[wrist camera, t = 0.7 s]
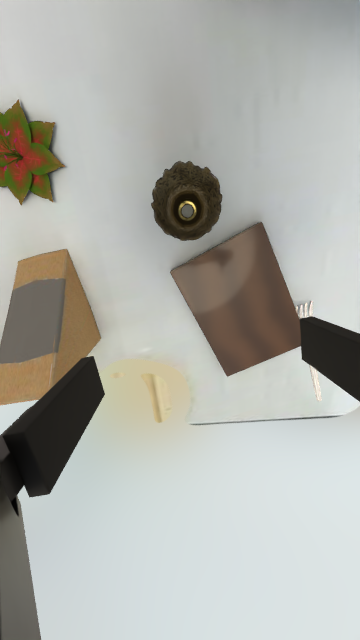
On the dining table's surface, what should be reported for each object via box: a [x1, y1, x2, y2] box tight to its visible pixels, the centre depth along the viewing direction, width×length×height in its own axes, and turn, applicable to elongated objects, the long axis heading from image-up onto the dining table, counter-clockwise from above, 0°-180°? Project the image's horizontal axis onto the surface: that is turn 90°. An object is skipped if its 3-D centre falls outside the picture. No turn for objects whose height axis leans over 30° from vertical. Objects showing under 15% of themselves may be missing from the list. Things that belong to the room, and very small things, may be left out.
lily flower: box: [0, 99, 65, 206], centre depth 27 cm, size 12×12×5 cm
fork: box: [295, 301, 322, 401], centre depth 37 cm, size 3×20×2 cm, turn 20°
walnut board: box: [170, 222, 301, 376], centre depth 34 cm, size 14×20×2 cm
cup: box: [151, 161, 222, 241], centre depth 27 cm, size 8×7×8 cm
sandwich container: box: [0, 249, 101, 405], centre depth 29 cm, size 9×15×15 cm, turn 13°
